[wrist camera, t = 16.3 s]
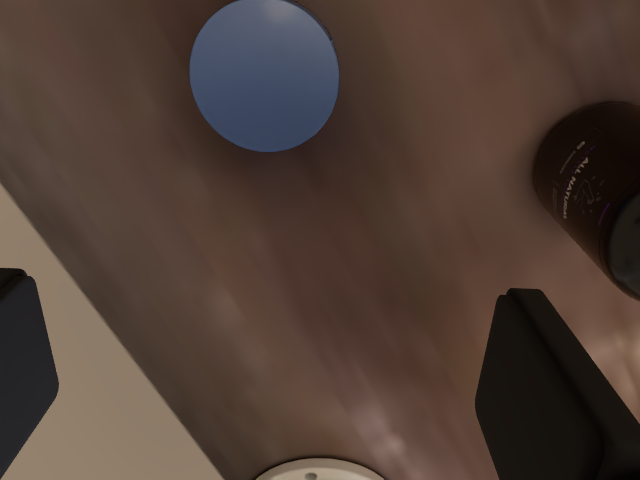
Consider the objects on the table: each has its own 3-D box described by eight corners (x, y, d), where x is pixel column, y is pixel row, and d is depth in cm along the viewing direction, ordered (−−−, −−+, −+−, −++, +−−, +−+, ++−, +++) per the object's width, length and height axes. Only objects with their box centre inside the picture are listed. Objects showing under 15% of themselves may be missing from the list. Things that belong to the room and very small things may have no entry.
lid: (299, -35, 23) (296, -37, 21) (362, 101, 26) (365, 111, 24) (172, 39, 25) (159, 44, 23) (245, 161, 27) (239, 175, 25)
